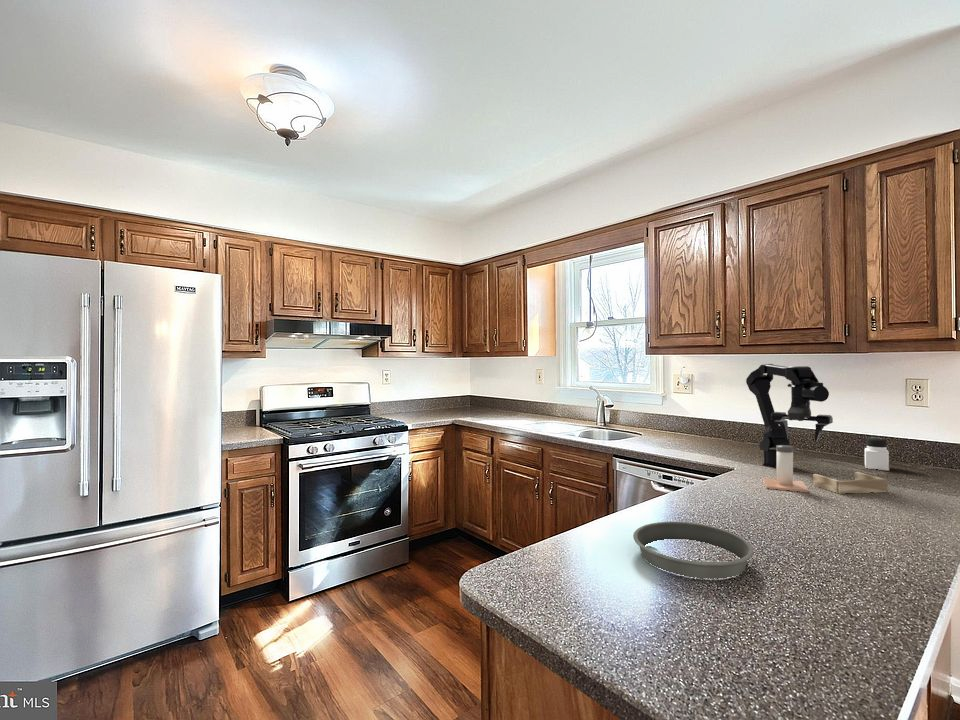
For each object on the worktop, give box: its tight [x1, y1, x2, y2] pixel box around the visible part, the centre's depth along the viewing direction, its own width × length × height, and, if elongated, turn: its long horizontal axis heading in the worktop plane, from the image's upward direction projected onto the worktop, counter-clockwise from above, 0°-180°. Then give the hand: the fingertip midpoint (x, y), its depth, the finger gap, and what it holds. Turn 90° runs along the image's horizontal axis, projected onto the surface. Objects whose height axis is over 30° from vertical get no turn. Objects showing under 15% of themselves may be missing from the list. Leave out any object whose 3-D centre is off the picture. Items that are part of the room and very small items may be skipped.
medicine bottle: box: [864, 436, 891, 472], centre depth 185 cm, size 7×7×12 cm
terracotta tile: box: [762, 477, 810, 493], centre depth 162 cm, size 12×12×1 cm
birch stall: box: [812, 471, 889, 495], centre depth 157 cm, size 11×17×4 cm, turn 96°
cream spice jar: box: [776, 445, 794, 486], centre depth 162 cm, size 5×5×13 cm
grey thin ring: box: [632, 521, 754, 579], centre depth 105 cm, size 25×25×4 cm
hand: (801, 440), depth 177 cm, fingers open, 9 cm apart
